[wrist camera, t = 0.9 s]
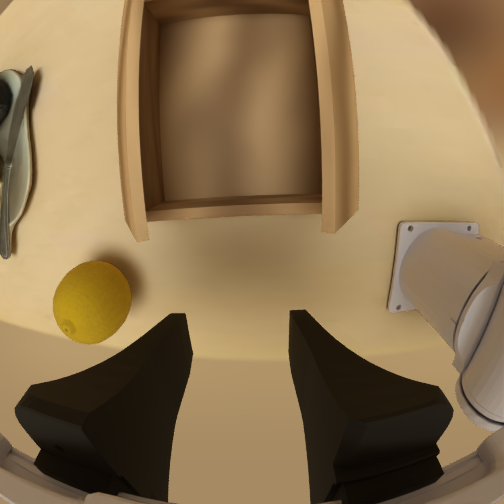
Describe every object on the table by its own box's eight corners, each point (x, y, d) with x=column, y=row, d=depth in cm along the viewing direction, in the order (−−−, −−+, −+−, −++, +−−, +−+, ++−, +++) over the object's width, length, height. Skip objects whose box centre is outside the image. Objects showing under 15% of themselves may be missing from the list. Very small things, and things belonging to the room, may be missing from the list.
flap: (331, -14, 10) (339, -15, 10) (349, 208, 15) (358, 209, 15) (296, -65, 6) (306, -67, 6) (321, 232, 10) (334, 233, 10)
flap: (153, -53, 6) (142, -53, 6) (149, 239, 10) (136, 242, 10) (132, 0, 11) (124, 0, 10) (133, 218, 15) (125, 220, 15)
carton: (314, 13, 15) (328, -15, 11) (326, 201, 20) (346, 213, 15) (156, 23, 15) (135, -2, 11) (160, 208, 20) (137, 222, 15)
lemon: (107, 314, 23) (65, 368, 15) (78, 260, 21) (22, 301, 13) (156, 298, 22) (119, 359, 15) (126, 237, 20) (70, 278, 13)
